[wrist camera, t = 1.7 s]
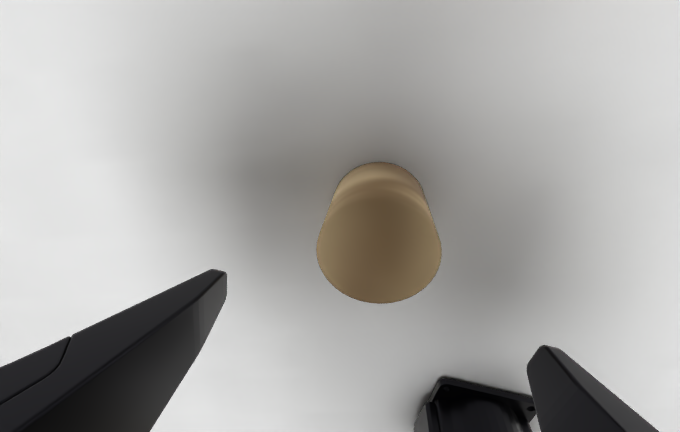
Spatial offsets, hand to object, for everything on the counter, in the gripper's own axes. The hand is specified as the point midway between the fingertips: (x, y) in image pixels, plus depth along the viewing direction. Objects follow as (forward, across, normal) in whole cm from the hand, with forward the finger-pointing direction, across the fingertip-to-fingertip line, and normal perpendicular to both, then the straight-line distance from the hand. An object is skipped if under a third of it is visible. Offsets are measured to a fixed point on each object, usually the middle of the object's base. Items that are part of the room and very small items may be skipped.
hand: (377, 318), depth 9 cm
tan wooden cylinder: (+8, 0, 0) cm, 8 cm away
